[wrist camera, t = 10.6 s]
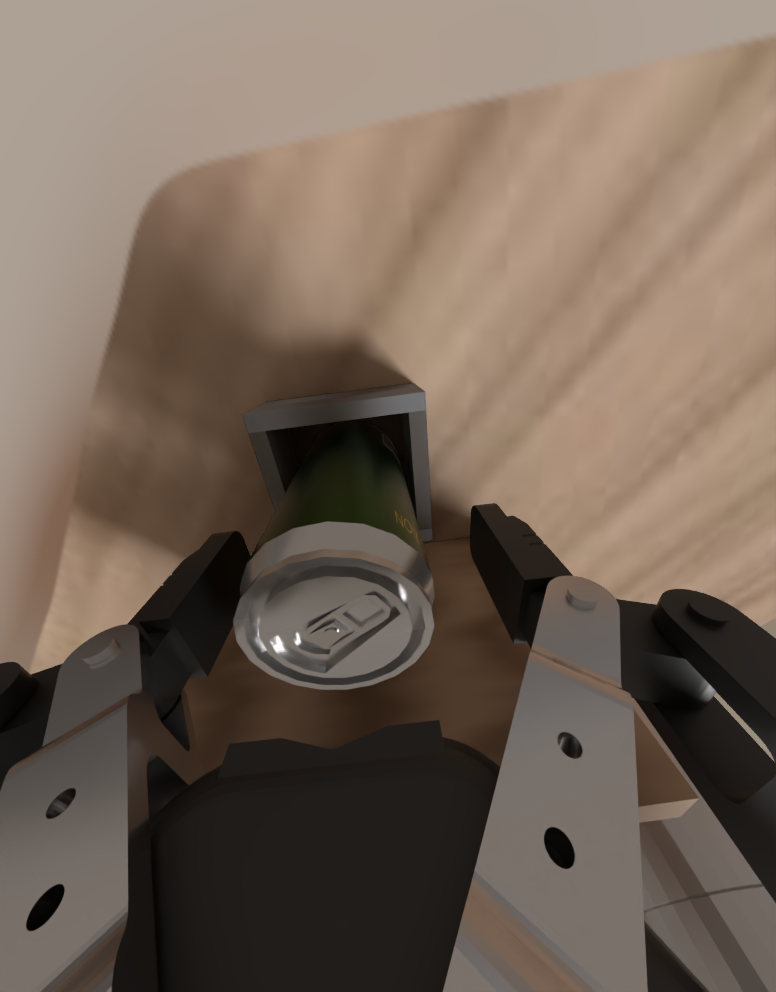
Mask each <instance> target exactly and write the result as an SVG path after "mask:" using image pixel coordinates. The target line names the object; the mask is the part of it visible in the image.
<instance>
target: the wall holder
mask: <svg viewBox="0 0 776 992" xmlns="http://www.w3.org/2000/svg"><path fill="white" fill-rule="evenodd" d="M400 413H402V420H403V431H404V443H405V454H406V465H407V476H408V488H409V496H410V499H411V503H412V506H413V510H414V513H415V517H416V520H417V524H418V527H419V531H420V534H421V538H422V541H430V540H433V539H432V519H431V499H430V479H429V459H428V439H427V419H426V399H425V391H423V390H422V389H421V388H420V387H418V386H417V385H416V384H414V383H409V384H402V385H394V386H386V387H378V388H371V389H363V390H355V391H347V392H340V393H332V394H324V395H316V396H309V397H301V398H293V399H286V400H278V401H270V402H265V403H264V404H262V405H260V406H258V407H256V408H255V409H253V410H251V411H249V412H248V413H246V414H244V415H242V417H243V420H244V423H245V426H246V429H247V431H248V434H249V437H250V440H251V443H252V446H253V449H254V452H255V454H256V457H257V460H258V463H259V466H260V469H261V472H262V475H263V478H264V480H265V483H266V486H267V489H268V492H269V495H270V498H271V501H272V503H273V506H274V509H275V511H276V509H277V508H278V506H279V504H280V502H281V500H282V498H283V497H284V495H285V493H286V491H287V489H288V487H289V486H290V484H291V482H292V480H293V478H294V476H295V475H296V473H297V471H298V469H299V464H298V460H297V457H296V453H295V450H294V446H293V442H292V439H291V435H290V432H289V428H292V427H300V426H308V425H316V424H323V423H331V422H339V421H346V420H354V419H362V418H369V417H377V416H385V415H392V414H400ZM423 545H424V548H425V552H426V555H427V559H428V562H429V566H430V569H431V573H432V579H433V585H434V591H435V597H434V600H433V604H432V608H431V609H432V614H433V620H434V629H433V633H432V636H431V640H430V643H429V646H428V647H427V648H426V650H425V651H424V652H423V653H422V655H421V656H420V657H419V658H418V660H417V661H416V662H415V663H414V664H412V665H411V666H409V667H408V668H407V669H405V670H404V671H402V672H401V673H399V674H398V675H396V676H394V677H392V678H389V679H386V680H384V681H381V682H379V683H376V684H374V685H369V686H364V687H358V688H353V689H347V690H320V689H314V688H309V687H303V686H298V685H293V684H291V683H288V682H286V681H283V680H281V679H278V678H276V677H273V676H271V675H269V674H268V673H266V672H265V671H263V670H262V669H261V668H259V667H258V666H257V665H255V664H254V663H253V662H251V661H250V660H249V659H248V657H247V656H246V654H245V653H244V651H243V650H242V649H241V647H240V646H239V644H238V643H237V640H236V634H235V629H234V625H233V627H232V629H231V631H230V633H229V635H228V637H227V639H226V641H225V643H224V645H223V647H222V649H221V651H220V653H219V655H218V657H217V659H216V661H215V664H214V666H213V668H212V670H211V672H210V674H209V676H208V677H204V678H195V679H188V681H187V683H186V685H185V687H184V688H183V690H184V691H185V692H186V694H187V697H188V702H189V707H190V712H191V717H192V722H193V727H194V733H195V738H196V743H197V748H198V753H199V757H200V760H201V763H202V766H203V768H204V770H205V772H206V773H208V772H210V771H212V770H213V769H215V768H217V767H219V766H221V765H222V763H223V760H224V757H225V754H226V752H227V749H228V746H229V744H232V743H241V742H250V741H258V740H267V739H276V738H283V739H288V740H292V741H297V742H301V743H305V744H310V745H314V746H318V747H323V748H327V749H334V748H338V747H340V746H343V745H345V744H347V743H349V742H352V741H354V740H356V739H359V738H361V737H363V736H366V735H368V734H370V733H372V732H375V731H377V730H379V729H382V728H384V727H386V726H391V725H399V724H408V723H417V722H426V721H435V720H439V721H440V727H441V732H442V737H445V738H449V739H453V740H456V741H459V742H461V743H464V744H467V745H468V746H470V747H472V748H474V749H476V750H478V751H480V752H481V753H483V754H484V755H485V756H487V757H488V758H490V759H491V760H493V761H494V762H495V763H496V764H497V765H498V766H500V767H501V764H502V760H503V756H504V752H505V748H506V744H507V740H508V736H509V732H510V729H511V725H512V721H513V717H514V713H515V709H516V705H517V701H518V697H519V693H520V689H521V685H522V681H523V677H524V673H525V669H526V665H527V662H528V658H529V654H530V650H531V648H530V646H529V644H528V643H519V644H513V642H512V640H511V638H510V636H509V634H508V632H507V630H506V627H505V625H504V623H503V621H502V619H501V617H500V615H499V613H498V611H497V609H496V607H495V605H494V603H493V600H492V598H491V596H490V594H489V592H488V590H487V588H486V586H485V584H484V582H483V580H482V578H481V576H480V574H479V571H478V569H477V567H476V565H475V563H474V561H473V559H472V555H471V551H470V537H469V538H461V539H454V540H446V541H439V542H431V543H424V544H423ZM633 710H634V709H633ZM634 729H635V749H636V769H637V789H638V809H639V823H641V822H648V821H655V820H662V819H669V818H676V817H681V816H682V815H683V814H684V813H685V812H686V811H687V810H688V809H689V808H690V807H691V806H692V805H693V804H694V803H695V802H696V801H697V800H698V799H699V797H698V796H697V794H696V793H695V792H694V790H693V789H692V788H691V786H690V785H689V784H688V782H687V781H686V779H685V778H684V777H683V775H682V774H681V773H680V771H679V770H678V769H677V767H676V766H675V764H674V763H673V762H672V760H671V759H670V758H669V756H668V755H667V754H666V752H665V751H664V750H663V748H662V747H661V745H660V744H659V743H658V741H657V740H656V739H655V737H654V736H653V735H652V733H651V732H650V731H649V729H648V728H647V726H646V725H645V724H644V722H643V721H642V720H641V718H640V717H639V716H638V714H637V713H636V712H635V710H634Z"/></svg>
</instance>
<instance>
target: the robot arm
mask: <svg viewBox="0 0 776 992" xmlns="http://www.w3.org/2000/svg"><path fill="white" fill-rule="evenodd" d="M470 551H471V555H472V559H473V561H474V563H475V565H476V567H477V569H478V571H479V574H480V576H481V578H482V580H483V582H484V584H485V586H486V588H487V590H488V592H489V594H490V596H491V598H492V600H493V603H494V605H495V607H496V609H497V611H498V613H499V615H500V617H501V619H502V621H503V623H504V625H505V627H506V630H507V632H508V634H509V636H510V638H511V640H512V642H513V644H519V643H528V644H529V646H530V648H531V650H530V654H529V658H528V662H527V665H526V669H525V673H524V677H523V681H522V685H521V689H520V693H519V697H518V701H517V705H516V709H515V713H514V717H513V721H512V725H511V729H510V732H509V736H508V740H507V744H506V748H505V752H504V756H503V760H502V764H501V767H500V766H498V765H497V764H496V763H495V762H494V761H493V760H491V759H490V758H488V757H487V756H485V755H484V754H483V753H481V752H480V751H478V750H476V749H474V748H472V747H470V746H468V745H467V744H464V743H461V742H459V741H456V740H453V739H449V738H445V737H442V732H441V727H440V721H439V720H435V721H426V722H417V723H408V724H399V725H391V726H386V727H384V728H382V729H379V730H377V731H375V732H372V733H370V734H368V735H366V736H363V737H361V738H359V739H356V740H354V741H352V742H349V743H347V744H345V745H343V746H340V747H338V748H334V749H327V748H323V747H318V746H314V745H310V744H305V743H301V742H297V741H292V740H288V739H283V738H276V739H267V740H258V741H250V742H241V743H232V744H229V746H228V749H227V752H226V754H225V757H224V760H223V763H222V765H221V766H219V767H217V768H215V769H213V770H212V771H210V772H208V773H206V772H205V770H204V768H203V766H202V763H201V760H200V757H199V753H198V748H197V743H196V738H195V733H194V727H193V722H192V717H191V712H190V707H189V702H188V697H187V694H186V692H185V691H184V690H183V688H184V687H185V685H186V683H187V681H188V679H195V678H204V677H208V676H209V674H210V672H211V670H212V668H213V666H214V664H215V661H216V659H217V657H218V655H219V653H220V651H221V649H222V647H223V645H224V643H225V641H226V639H227V637H228V635H229V633H230V631H231V629H232V627H233V625H234V623H233V619H234V616H235V613H236V610H237V607H238V604H239V601H240V598H241V594H240V584H241V580H242V577H243V574H244V571H245V568H246V565H247V563H248V561H249V559H250V557H251V556H250V554H249V551H248V549H247V546H246V544H245V541H244V539H243V537H242V535H241V533H240V532H238V531H233V532H224V533H215V534H212V535H211V536H210V537H209V538H208V540H207V541H206V542H205V543H204V544H203V546H202V547H201V548H200V549H199V550H197V551H196V552H195V553H193V554H192V555H190V556H189V557H188V558H186V559H185V560H183V561H182V562H181V564H180V565H179V566H178V567H177V568H176V569H175V570H174V572H173V573H172V575H170V576H169V577H168V578H167V580H166V581H165V582H164V583H163V586H160V588H159V589H158V590H157V591H156V592H155V593H154V594H153V596H152V597H151V598H150V599H149V600H148V601H147V602H146V604H145V605H144V606H143V607H142V608H141V609H140V610H139V612H138V613H137V614H136V615H135V616H134V617H133V618H132V620H131V621H130V622H129V623H128V624H127V625H120V626H116V627H113V628H110V629H107V630H105V631H103V632H101V633H99V634H97V635H95V636H94V637H92V638H90V639H89V640H87V641H86V642H84V643H83V644H82V645H80V646H79V647H78V648H77V649H76V650H75V651H73V652H72V653H71V654H70V655H69V657H68V658H67V659H66V660H65V661H64V663H63V664H60V665H57V666H55V667H52V668H49V669H46V670H43V671H40V672H37V673H34V674H32V675H31V674H29V673H28V672H27V671H26V670H25V669H24V668H23V667H21V666H20V665H19V664H18V663H15V662H6V663H2V664H0V992H776V638H774V637H773V636H772V635H770V634H769V633H768V632H766V631H765V630H764V629H762V628H761V627H760V626H758V625H757V624H756V623H755V622H753V621H752V620H751V619H749V618H748V617H747V616H745V615H744V614H743V613H741V612H740V611H739V610H737V609H736V608H734V607H732V606H731V605H729V604H727V603H725V602H723V601H721V600H719V599H717V598H715V597H712V596H710V595H707V594H704V593H700V592H697V591H692V590H686V589H673V590H668V591H666V592H664V593H663V594H662V595H661V597H660V599H659V601H658V603H657V605H655V604H647V603H640V602H633V601H625V600H619V599H615V597H614V596H613V595H612V594H611V593H610V592H609V591H608V590H606V589H605V588H604V587H602V586H601V585H599V584H597V583H595V582H593V581H591V580H588V579H585V578H582V577H577V576H573V575H572V574H571V573H570V572H569V570H568V569H567V568H566V567H565V566H564V565H563V564H562V563H561V561H560V560H559V559H558V558H557V557H556V556H555V555H554V554H553V552H552V551H551V550H550V549H549V548H548V547H547V546H546V545H545V544H543V541H542V540H541V539H540V538H539V537H538V536H536V533H535V532H534V531H533V530H532V529H531V528H530V526H529V525H528V524H527V523H525V522H523V521H521V520H520V519H518V518H516V517H514V516H508V517H507V516H506V515H505V514H504V512H503V511H502V510H501V509H500V507H499V506H498V505H497V504H495V503H493V504H484V505H475V506H473V507H472V509H471V525H470ZM716 692H717V693H718V694H719V695H720V696H721V697H722V698H723V699H724V700H725V701H726V702H727V704H729V706H730V707H731V708H732V709H733V710H734V711H735V712H736V713H737V714H738V715H739V716H740V717H741V718H742V719H743V720H744V722H745V723H746V724H747V725H748V726H749V727H750V728H751V729H752V730H753V731H754V732H755V733H756V734H757V735H758V736H759V738H760V739H761V740H762V741H763V742H764V744H765V745H766V746H767V748H768V749H769V751H770V752H771V754H772V756H773V758H774V761H775V762H774V761H773V760H772V759H771V758H770V757H769V756H768V755H767V754H766V752H765V751H764V750H763V749H762V748H761V747H760V746H759V745H758V744H757V743H756V742H755V741H754V740H753V738H752V737H751V736H750V735H749V734H748V733H747V732H746V731H745V730H744V729H743V728H742V726H741V725H740V724H739V723H738V722H737V721H736V720H735V719H734V718H733V717H732V716H731V714H730V713H729V712H728V711H727V710H726V709H725V708H724V707H723V706H722V705H721V704H720V703H719V701H718V700H717V699H716V698H715V697H714V695H715V693H716ZM633 709H634V710H635V712H636V713H637V714H638V716H639V717H640V718H641V720H642V721H643V722H644V724H645V725H646V726H647V728H648V729H649V731H650V732H651V733H652V735H653V736H654V737H655V739H656V740H657V741H658V743H659V744H660V745H661V747H662V748H663V750H664V751H665V752H666V754H667V755H668V756H669V758H670V759H671V760H672V762H673V763H674V764H675V766H676V767H677V769H678V770H679V771H680V773H681V774H682V775H683V777H684V778H685V779H686V781H687V782H688V784H689V785H690V786H691V788H692V789H693V790H694V792H695V793H696V794H697V796H698V797H699V799H698V800H697V801H696V802H695V803H694V804H693V805H692V806H691V807H690V808H689V809H688V810H687V811H686V812H685V813H684V814H683V815H682V816H681V817H676V818H669V819H662V820H655V821H648V822H641V823H639V809H638V789H637V769H636V749H635V729H634V710H633Z"/></svg>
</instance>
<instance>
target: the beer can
mask: <svg viewBox="0 0 776 992" xmlns="http://www.w3.org/2000/svg"><path fill="white" fill-rule="evenodd" d="M240 594H241V598H240V601H239V604H238V607H237V610H236V613H235V616H234V619H233V623H234V629H235V634H236V640H237V643H238V644H239V646H240V647H241V649H242V650H243V651H244V653H245V654H246V656H247V657H248V659H249V660H250V661H251V662H253V663H254V664H255V665H257V666H258V667H259V668H261V669H262V670H263V671H265V672H266V673H268V674H269V675H271V676H273V677H276V678H278V679H281V680H283V681H286V682H288V683H291V684H293V685H298V686H303V687H309V688H314V689H320V690H347V689H353V688H358V687H364V686H369V685H374V684H376V683H379V682H381V681H384V680H386V679H389V678H392V677H394V676H396V675H398V674H399V673H401V672H402V671H404V670H405V669H407V668H408V667H409V666H411V665H412V664H414V663H415V662H416V661H417V660H418V658H419V657H420V656H421V655H422V653H423V652H424V651H425V650H426V648H427V647H428V646H429V643H430V640H431V636H432V633H433V629H434V620H433V614H432V609H431V608H432V604H433V600H434V597H435V591H434V585H433V579H432V573H431V569H430V566H429V562H428V559H427V555H426V552H425V548H424V545H423V541H422V538H421V534H420V531H419V527H418V524H417V520H416V517H415V513H414V510H413V506H412V503H411V499H410V496H409V492H408V489H407V485H406V482H405V478H404V475H403V471H402V468H401V464H400V461H399V457H398V454H397V450H396V449H395V447H394V445H393V443H392V442H391V440H390V438H389V437H388V436H387V435H385V434H384V433H383V432H382V431H381V430H380V429H379V428H377V427H374V426H372V425H370V424H368V423H365V422H357V421H346V422H341V423H336V424H334V425H332V426H330V427H329V428H327V429H325V430H324V431H322V432H321V433H320V435H319V436H318V437H317V438H316V439H315V441H314V442H313V443H312V445H311V447H310V449H309V451H308V453H307V454H306V456H305V458H304V460H303V462H302V464H301V465H300V467H299V469H298V471H297V473H296V475H295V476H294V478H293V480H292V482H291V484H290V486H289V487H288V489H287V491H286V493H285V495H284V497H283V498H282V500H281V502H280V504H279V506H278V508H277V509H276V511H275V513H274V515H273V517H272V519H271V520H270V522H269V524H268V526H267V528H266V530H265V531H264V533H263V535H262V537H261V539H260V541H259V542H258V544H257V546H256V548H255V550H254V552H253V553H252V555H251V557H250V559H249V561H248V563H247V565H246V568H245V571H244V574H243V577H242V580H241V584H240Z"/></svg>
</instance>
